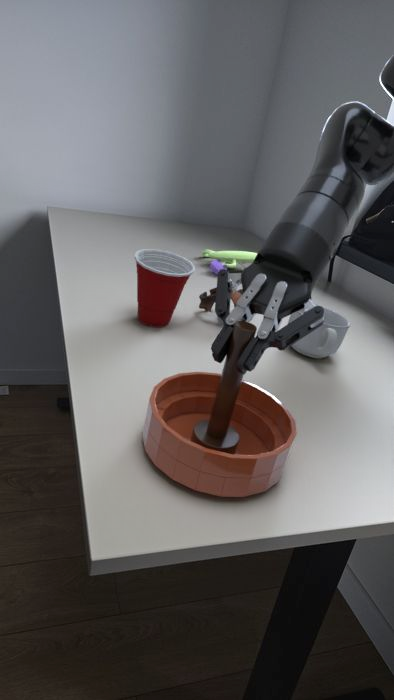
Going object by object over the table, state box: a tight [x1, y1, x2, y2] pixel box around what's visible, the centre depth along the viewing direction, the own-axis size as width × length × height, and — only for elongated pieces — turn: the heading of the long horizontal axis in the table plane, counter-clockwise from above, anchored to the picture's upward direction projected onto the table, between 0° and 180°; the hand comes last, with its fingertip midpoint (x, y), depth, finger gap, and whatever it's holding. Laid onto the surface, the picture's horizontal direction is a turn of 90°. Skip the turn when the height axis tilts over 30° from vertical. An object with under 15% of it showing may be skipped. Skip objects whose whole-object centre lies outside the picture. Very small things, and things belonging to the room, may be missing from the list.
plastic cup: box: [133, 248, 196, 328], centre depth 88 cm, size 11×11×12 cm
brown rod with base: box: [191, 321, 258, 454], centre depth 56 cm, size 6×6×16 cm
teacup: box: [286, 303, 351, 359], centre depth 91 cm, size 14×11×8 cm
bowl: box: [141, 371, 298, 498], centre depth 59 cm, size 17×17×6 cm
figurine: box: [201, 249, 258, 276], centre depth 131 cm, size 18×27×6 cm
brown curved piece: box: [198, 286, 243, 313], centre depth 99 cm, size 12×10×8 cm
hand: (228, 364), depth 53 cm, fingers closed on brown rod with base, 2 cm apart
